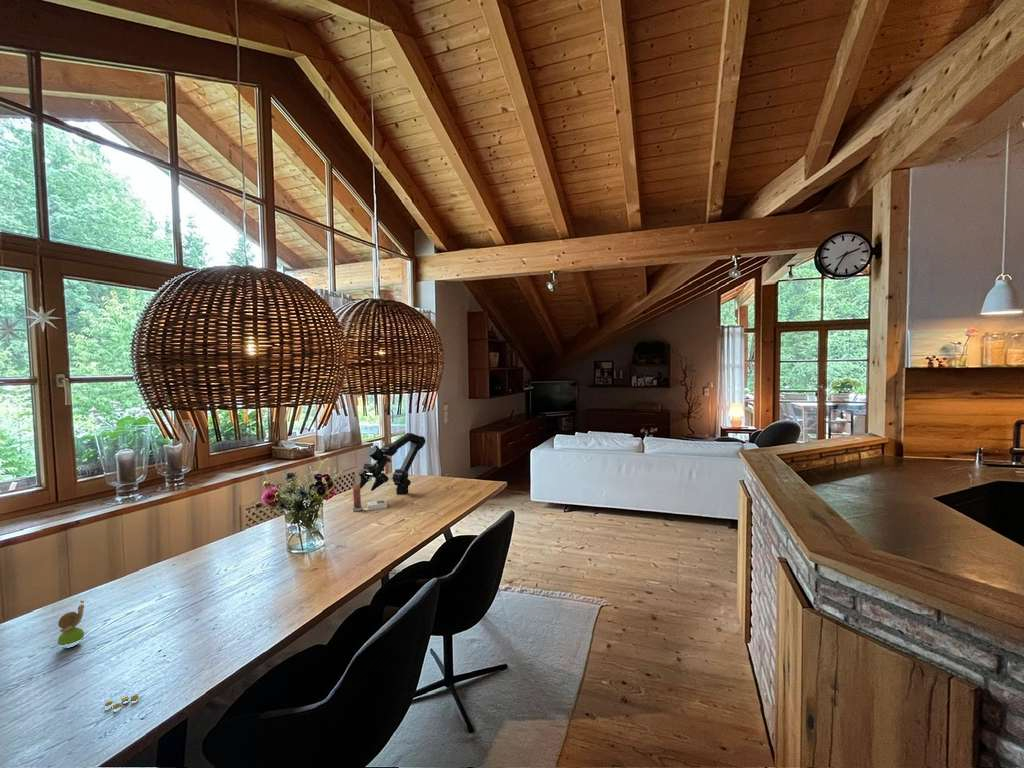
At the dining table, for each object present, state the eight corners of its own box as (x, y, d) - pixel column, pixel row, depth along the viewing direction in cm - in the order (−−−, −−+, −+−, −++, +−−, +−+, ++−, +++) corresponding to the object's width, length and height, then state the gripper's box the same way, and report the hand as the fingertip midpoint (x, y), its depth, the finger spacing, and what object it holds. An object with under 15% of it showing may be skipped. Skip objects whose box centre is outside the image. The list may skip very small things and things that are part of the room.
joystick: (363, 508, 242) (362, 484, 241) (360, 511, 237) (359, 486, 236) (354, 508, 242) (353, 484, 241) (351, 511, 237) (349, 486, 236)
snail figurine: (93, 640, 133) (90, 601, 133) (67, 653, 127) (64, 613, 126) (79, 637, 135) (76, 599, 134) (53, 651, 128) (50, 611, 128)
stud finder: (385, 504, 248) (385, 499, 248) (387, 507, 242) (386, 502, 242) (366, 507, 244) (366, 502, 244) (367, 510, 239) (367, 505, 238)
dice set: (140, 703, 108) (139, 695, 108) (114, 718, 104) (113, 710, 104) (129, 696, 111) (129, 689, 111) (103, 711, 106) (103, 703, 106)
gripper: (359, 455, 252) (344, 480, 244) (383, 458, 243) (368, 484, 234) (371, 466, 260) (357, 490, 251) (394, 469, 250) (380, 494, 241)
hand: (365, 489), depth 244 cm, fingers open, 9 cm apart
